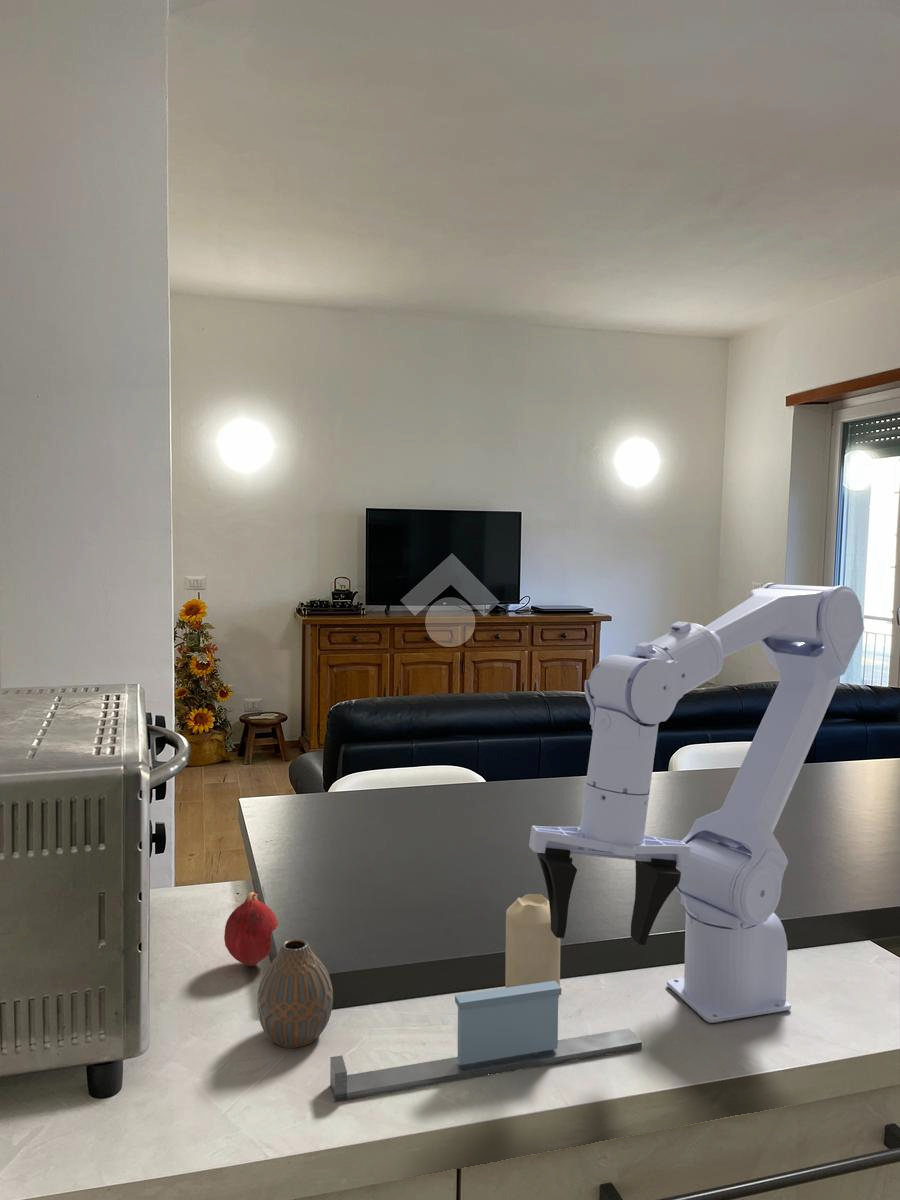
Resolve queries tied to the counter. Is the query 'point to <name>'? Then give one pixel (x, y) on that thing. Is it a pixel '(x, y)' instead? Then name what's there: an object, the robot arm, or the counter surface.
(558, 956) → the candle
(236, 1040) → the counter surface
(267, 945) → the onion
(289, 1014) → the vase
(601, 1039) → the rail
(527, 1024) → the panel
